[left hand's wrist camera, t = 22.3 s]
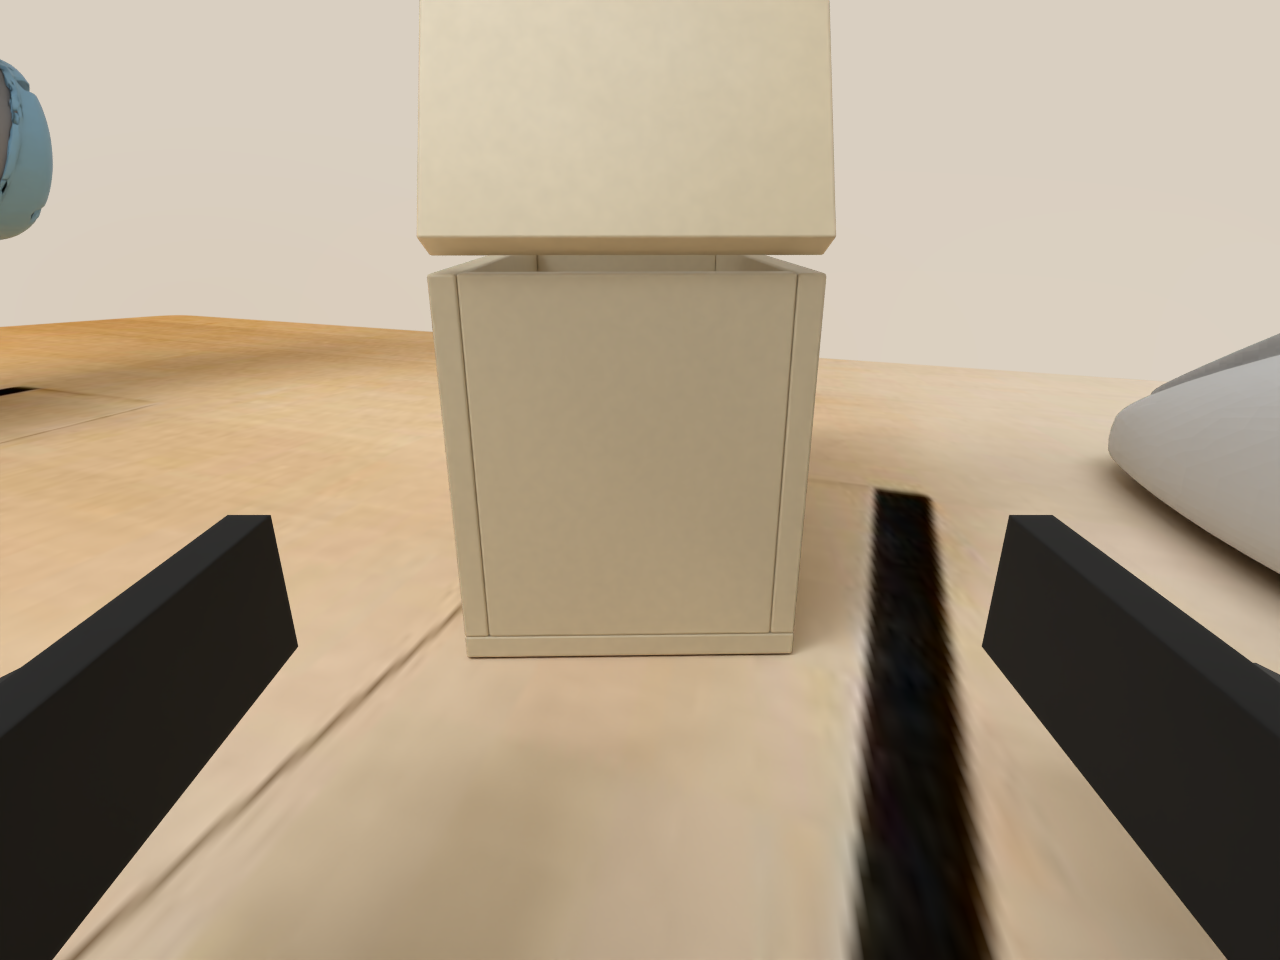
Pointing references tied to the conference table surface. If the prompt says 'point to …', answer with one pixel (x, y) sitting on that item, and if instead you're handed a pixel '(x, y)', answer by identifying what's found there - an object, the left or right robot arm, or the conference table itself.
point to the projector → (1213, 448)
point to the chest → (627, 449)
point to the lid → (625, 127)
